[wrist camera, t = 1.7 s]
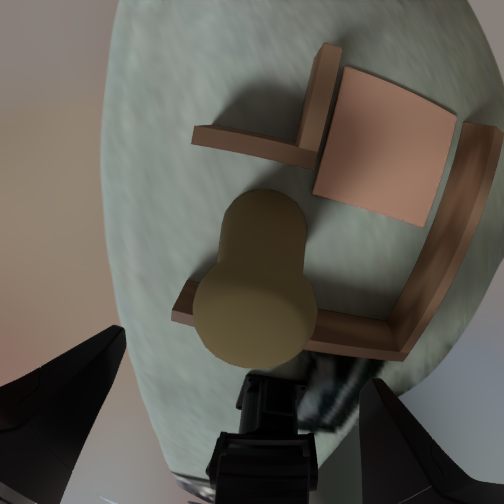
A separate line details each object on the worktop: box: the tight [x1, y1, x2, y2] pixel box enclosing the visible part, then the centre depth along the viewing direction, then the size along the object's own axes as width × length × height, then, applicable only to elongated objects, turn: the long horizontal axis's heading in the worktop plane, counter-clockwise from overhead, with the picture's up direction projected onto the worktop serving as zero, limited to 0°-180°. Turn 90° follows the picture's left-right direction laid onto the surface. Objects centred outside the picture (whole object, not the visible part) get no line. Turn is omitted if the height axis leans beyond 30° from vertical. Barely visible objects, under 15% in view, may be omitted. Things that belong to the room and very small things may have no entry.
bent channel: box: [171, 43, 504, 362], centre depth 17 cm, size 19×18×4 cm
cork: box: [193, 189, 318, 369], centre depth 15 cm, size 6×6×11 cm
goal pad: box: [312, 66, 457, 228], centre depth 17 cm, size 9×9×1 cm
